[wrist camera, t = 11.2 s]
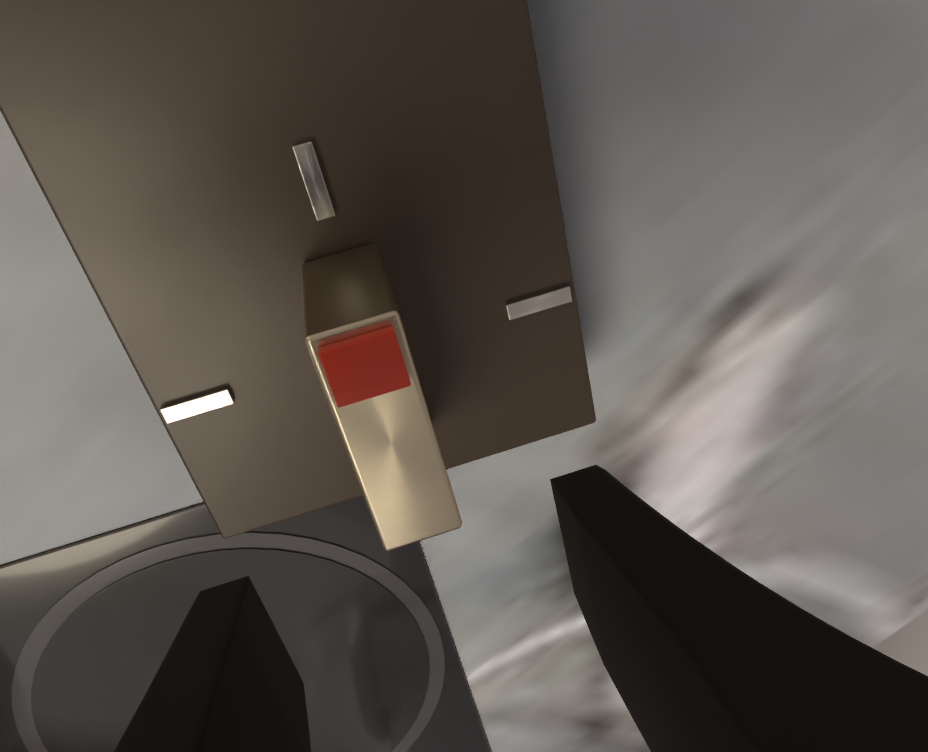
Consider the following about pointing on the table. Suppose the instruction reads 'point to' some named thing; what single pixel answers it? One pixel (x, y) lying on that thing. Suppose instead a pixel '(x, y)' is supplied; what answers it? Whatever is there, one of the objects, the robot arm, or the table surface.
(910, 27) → the table surface
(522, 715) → the table surface
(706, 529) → the table surface
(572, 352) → the dial box
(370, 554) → the hob
